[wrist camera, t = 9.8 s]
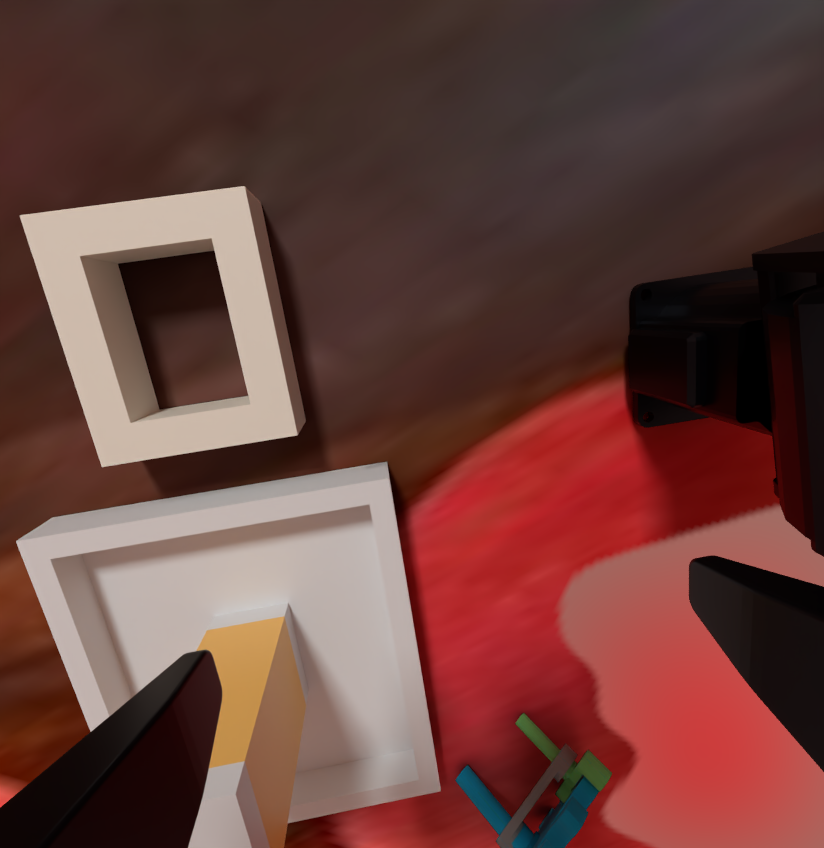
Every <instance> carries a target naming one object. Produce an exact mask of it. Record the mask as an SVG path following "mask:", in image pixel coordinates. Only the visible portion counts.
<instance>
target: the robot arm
mask: <svg viewBox="0 0 824 848" xmlns="http://www.w3.org/2000/svg"><path fill="white" fill-rule="evenodd" d="M752 262H753V267H748V268H741V269H735V270H728V271H721V272H715V273H708V274H701V275H695V276H688V277H681V278H675V279H668V280H661V281H655V282H648V283H641V284H638V285H636V286H635V287H634V288H633V289H632V291H631V295H630V310H631V332H630V334H629V336H628V341H629V377H630V388H631V389H632V390H633V418H634V421H635V422H636V424H638V425H640V426H643V427H654V426H660V425H666V424H672V423H678V422H684V421H690V420H696V419H702V418H708V417H711V418H715V419H718V420H721V421H725V422H728V423H731V424H735V425H738V426H741V427H744V428H748V429H751V430H754V431H758V432H761V433H764V434H768V435H771V436H772V437H773V447H774V458H775V469H776V478H775V479H774V480H773V484H774V493H775V495H776V496H777V497H778V498H779V500H780V506H781V508H782V511H783V513H784V516H785V519H786V520H787V521H788V522H789V523H790V524H791V525H792V526H794V527H795V528H796V529H797V530H798V531H799V532H801V533H802V534H803V535H804V536H805V537H807V538H809V539H810V540H811V547H812V550H814V551H815V552H816V553H818V554H820V555H822V556H823V557H824V232H821V233H818V234H814V235H811V236H808V237H805V238H801V239H798V240H795V241H792V242H788V243H785V244H782V245H778V246H775V247H772V248H769V249H765V250H762V251H759V252H756V253H753V254H752ZM643 290H645V291H646V294H647V295H646V298H645V299H644V300H642V299H641V292H642V291H643ZM646 412H648V414H649V415H648V418H647V419H646V420H644V419H643V416H644V414H645V413H646ZM689 600H690V603H691V606H692V608H693V610H694V611H695V613H696V614H697V616H698V617H699V618H700V619H701V621H702V622H703V624H704V625H705V626H706V628H707V629H708V630H709V632H710V633H711V635H712V636H713V637H714V639H715V640H716V642H717V643H718V644H719V646H720V647H721V648H722V650H723V651H724V653H725V654H726V655H727V656H728V658H729V659H730V661H731V662H732V664H733V665H734V666H735V668H736V669H737V670H738V672H739V673H740V674H741V676H742V677H743V678H744V679H745V681H746V682H747V683H748V685H749V686H750V687H751V688H752V689H753V691H754V692H755V693H756V694H757V696H758V697H759V698H760V699H761V700H762V701H763V703H764V704H765V705H766V706H767V707H768V708H769V709H770V711H771V712H772V713H773V714H774V715H775V716H776V718H777V719H778V720H779V721H780V722H781V723H782V724H783V725H784V727H785V728H786V729H787V730H788V731H789V732H790V733H791V735H792V736H793V737H794V738H795V739H796V741H797V742H798V743H799V744H800V745H801V746H802V747H803V749H804V750H805V751H806V752H807V753H808V754H809V755H810V757H811V758H812V759H813V760H814V761H815V762H816V763H817V764H818V766H819V767H820V768H821V769H822V770H823V772H824V587H822V586H819V585H815V584H812V583H808V582H805V581H802V580H798V579H795V578H791V577H788V576H784V575H780V574H777V573H774V572H770V571H767V570H763V569H760V568H756V567H753V566H749V565H746V564H742V563H739V562H735V561H732V560H729V559H725V558H722V557H718V556H706V557H700V558H695V559H693V560H692V561H691V562H690V565H689ZM221 704H222V686H221V682H220V679H219V675H218V672H217V668H216V665H215V662H214V658H213V655H212V653H211V652H210V651H209V650H206V649H205V650H199V651H194V652H189V653H185V654H183V655H182V656H181V657H180V658H179V659H177V660H176V661H175V662H174V663H173V664H171V665H170V666H169V667H168V668H167V669H165V670H164V671H163V672H162V673H161V674H159V675H158V676H157V677H156V678H155V679H153V680H152V681H151V682H150V683H149V684H147V685H146V686H145V687H144V688H143V689H142V690H140V691H139V692H138V693H137V694H136V695H134V696H133V697H132V698H131V699H130V700H128V701H127V702H126V703H125V704H124V705H122V706H121V707H120V708H119V709H118V710H116V711H115V712H114V713H113V714H112V715H110V716H109V717H108V718H107V719H106V720H104V721H103V722H102V723H101V724H100V725H99V726H97V727H96V728H95V729H94V730H93V731H91V732H90V733H89V734H88V735H87V736H85V737H84V738H83V739H82V740H81V741H79V742H78V743H77V744H76V745H75V746H73V747H72V748H71V749H70V750H69V751H67V752H66V753H65V754H64V755H63V756H61V757H60V758H59V759H58V760H57V761H56V762H54V763H53V764H52V765H51V766H50V767H48V768H47V769H46V770H45V771H44V772H42V773H41V774H40V775H39V776H38V777H36V778H35V779H34V780H33V781H32V782H30V783H29V784H28V785H27V786H26V787H24V788H23V789H22V790H21V791H20V792H19V793H17V794H16V795H15V796H14V797H13V798H11V799H10V800H9V801H8V802H7V803H5V804H4V805H3V806H2V807H1V808H0V848H188V846H189V843H190V839H191V836H192V833H193V829H194V826H195V823H196V819H197V816H198V812H199V809H200V805H201V801H202V798H203V794H204V789H205V785H206V780H207V775H208V770H209V765H210V760H211V755H212V750H213V745H214V740H215V734H216V729H217V724H218V719H219V714H220V709H221Z"/></svg>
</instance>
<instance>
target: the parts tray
mask: <svg viewBox="0 0 824 848" xmlns="http://www.w3.org/2000/svg"><path fill="white" fill-rule="evenodd" d="M16 543H17V545H18V548H19V550H20V553H21V556H22V558H23V561H24V563H25V566H26V568H27V571H28V573H29V576H30V578H31V581H32V584H33V586H34V589H35V591H36V594H37V596H38V599H39V601H40V604H41V606H42V609H43V612H44V614H45V617H46V619H47V622H48V624H49V627H50V629H51V632H52V635H53V637H54V640H55V642H56V645H57V647H58V650H59V652H60V655H61V657H62V660H63V663H64V665H65V668H66V670H67V673H68V675H69V678H70V680H71V683H72V685H73V688H74V691H75V693H76V696H77V698H78V701H79V703H80V706H81V708H82V711H83V714H84V716H85V719H86V721H87V724H88V726H89V729H90V731H93V730H94V729H95V728H96V727H97V726H99V725H100V724H101V723H102V722H103V721H104V720H106V719H107V718H108V717H109V716H110V715H112V714H113V713H114V712H115V711H116V710H118V709H119V708H120V707H121V706H122V705H124V704H125V703H126V702H127V701H128V700H130V699H131V698H132V697H133V696H134V695H136V694H137V693H138V692H139V691H140V690H142V689H143V688H144V687H145V686H146V685H147V684H149V683H150V682H151V681H152V680H153V679H155V678H156V677H157V676H158V675H159V674H161V673H162V672H163V671H164V670H165V669H167V668H168V667H169V666H170V665H171V664H173V663H174V662H175V661H176V660H177V659H179V658H180V657H181V656H182V655H183V654H185V653H189V652H194V651H197V649H198V647H199V645H200V643H201V641H202V639H203V637H204V635H205V633H206V631H207V629H208V627H209V625H210V623H211V621H212V619H213V617H214V616H218V615H223V614H229V613H235V612H240V611H246V610H251V609H257V608H262V607H268V606H273V605H279V604H284V603H288V604H289V608H290V612H291V617H292V621H293V625H294V629H295V633H296V637H297V642H298V646H299V650H300V654H301V658H302V663H303V667H304V671H305V675H306V679H307V684H308V688H309V691H308V697H307V703H306V710H305V716H304V722H303V729H302V735H301V741H300V748H299V754H298V760H297V767H296V773H295V779H294V786H293V792H292V798H291V805H290V811H289V817H288V823H291V822H296V821H301V820H305V819H310V818H315V817H320V816H325V815H329V814H334V813H339V812H344V811H349V810H353V809H358V808H363V807H368V806H373V805H377V804H382V803H387V802H392V801H396V800H401V799H406V798H411V797H416V796H420V795H425V794H430V793H435V792H440V791H441V788H440V781H439V775H438V768H437V761H436V755H435V749H434V743H433V737H432V730H431V724H430V718H429V712H428V706H427V700H426V694H425V688H424V682H423V676H422V670H421V664H420V658H419V652H418V646H417V640H416V634H415V628H414V622H413V616H412V610H411V604H410V597H409V591H408V585H407V579H406V573H405V567H404V561H403V555H402V549H401V543H400V537H399V531H398V525H397V519H396V513H395V507H394V501H393V495H392V489H391V483H390V477H389V470H388V464H387V462H383V463H377V464H371V465H365V466H359V467H353V468H347V469H341V470H335V471H329V472H323V473H317V474H311V475H305V476H299V477H293V478H287V479H281V480H275V481H269V482H263V483H257V484H251V485H245V486H239V487H233V488H227V489H221V490H215V491H209V492H203V493H197V494H191V495H185V496H179V497H173V498H167V499H161V500H155V501H149V502H143V503H137V504H131V505H125V506H119V507H113V508H107V509H101V510H95V511H89V512H83V513H77V514H71V515H65V516H59V517H53V518H51V519H50V520H48V521H46V522H45V523H43V524H42V525H40V526H39V527H37V528H36V529H34V530H33V531H31V532H29V533H28V534H26V535H25V536H23V537H22V538H20V539H19V540H17V541H16Z"/></svg>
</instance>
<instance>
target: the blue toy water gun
mask: <svg viewBox="0 0 824 848" xmlns="http://www.w3.org/2000/svg"><path fill="white" fill-rule="evenodd" d="M515 724H516V725H517V726H518V727H519V728H520V729H521V730H522V732H523V733H524V734H525V735H526V736H527V737H528V738H529V739H530V740H531V741H532V742H533V743H534V744H535V745H536V746H537V747H538V748H539V749H540V751H541V752H542V753H543V754H544V755H545V756H546V757H547V758H548V759H549V760H550V761H551V762H552V763H551V764H550V765H549V767H548V768H547V770H546V771H545V772H544V774H543V775H542V776H541V778H540V779H539V781H538V782H537V783H536V785H535V786H534V788H533V789H532V790H531V792H530V793H529V795H528V796H527V797H526V799H525V800H524V801H523V803H522V804H521V806H520V807H519V808H518V810H517V811H516V813H515V814H514V815H513V817H511V816H510V815H509V814H508V812H507V811H506V810H505V809H504V808H503V806H502V805H501V804H500V803H499V802H498V800H497V799H496V798H495V797H494V796H493V794H492V793H491V792H490V791H489V790H488V788H487V787H486V786H485V785H484V784H483V782H482V781H481V780H480V779H479V778H478V776H477V775H476V774H475V773H474V772H473V770H472V769H471V768H470V767H469V766H468V765H467V766H466V767H465V768H464V769H463V770H462V772H461V773H460V774H459V775H458V777H457V778H456V780H455V781H456V782H457V783H458V785H459V786H460V787H461V788H462V790H463V791H464V792H465V793H466V795H467V796H468V797H469V798H470V800H471V801H472V802H473V803H474V805H475V806H476V807H477V808H478V810H479V811H480V812H481V813H482V815H483V816H484V817H485V818H486V820H487V821H488V822H489V823H490V825H491V826H492V827H493V828H494V830H495V831H496V832H497V833H498V835H499V837H498V838H497V840H496V842H497V844H498V845H499V846H500V847H501V848H565V846H566V845H567V844H568V843H569V842H570V840H571V839H572V838H573V837H574V836H575V835H576V834H577V833H578V831H579V830H580V829H581V827H582V826H583V824H584V822H585V819H586V817H587V815H588V812H587V811H586V809H587V808H588V807H589V805H590V804H591V803H592V801H593V800H594V799H595V797H596V795H597V794H598V792H600V791H601V790H602V789H603V788H604V786H605V785H606V783H607V782H608V780H609V779H610V777H611V775H612V772H611V771H610V770H609V769H608V768H606V767H605V766H604V765H603V764H602V763H601V762H600V761H599V760H598V759H597V758H596V757H595V756H594V755H593V754H592V753H591V752H590V751H589V750H587V751H586V753H585V754H584V755H583V757H582V758H581V759H580V761H579V762H578V764H577V763H576V762H575V761H574V760H575V758H576V757H577V754H576V753H575V752H574V751H573V750H572V749H571V748H570V747H569V746H568V745H567V744H566V743H565V745H564V746H563V747H562V749H561V750H560V749H559V748H558V747H557V746H556V745H555V744H554V743H553V742H552V741H551V740H550V739H549V738H548V737H547V736H546V735H545V734H544V733H543V732H542V731H541V730H540V729H539V728H538V727H537V726H536V725H535V724H534V723H533V722H532V721H531V720H530V719H529V718H528V717H527V715H526V714H525V713H523V714H522V715H521V716H520V718H519V719H518V720H517V722H516V723H515ZM553 778H554V779H555V780H556V781H557V782H559V781H560V780H561V779H562V778H563V779H564V781H563V782H562V784H561V785H560V787H559V788H558V790H557V791H556V793H555V795H556V796H557V797H558V798H559V799H560V802H559V804H558V805H557V807H556V808H555V810H554V809H553V808H552V809H551V810H550V811H549V813H548V814H547V815H546V817H545V818H544V820H543V821H542V823H541V824H540V826H539V829H540V830H539V831H538V832H537V831H536V832H535V833H534V834H533V832H532V831H531V830H530V829H529V828H528V826H527V825H526V824H525V823H524V822H523V820H524V818H525V817H526V815H527V814H528V813H529V811H530V810H531V808H532V807H533V806H534V804H535V803H536V801H537V800H538V799H539V797H540V796H541V795H542V793H543V792H544V790H545V789H546V788H547V786H548V785H549V783H550V782H551V781H552V779H553Z"/></svg>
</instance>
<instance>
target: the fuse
mask: <svg viewBox="0 0 824 848" xmlns="http://www.w3.org/2000/svg"><path fill="white" fill-rule="evenodd" d="M205 649H206V650H209V651H210V652H211V653H212V655H213V658H214V662H215V665H216V668H217V672H218V675H219V679H220V682H221V686H222V704H221V709H220V714H219V719H218V724H217V729H216V734H215V740H214V745H213V750H212V755H211V760H210V765H209V770H208V775H207V780H206V785H205V789H204V794H203V798H202V801H201V805H200V809H199V812H198V816H197V819H196V823H195V826H194V829H193V833H192V836H191V839H190V843H189V846H188V848H284V843H285V836H286V830H287V824H288V817H289V811H290V805H291V798H292V792H293V786H294V779H295V773H296V767H297V760H298V754H299V748H300V741H301V735H302V729H303V722H304V716H305V710H306V703H307V697H308V691H309V688H308V684H307V679H306V675H305V671H304V667H303V663H302V658H301V654H300V650H299V646H298V642H297V637H296V633H295V629H294V625H293V621H292V617H291V612H290V608H289V604H288V603H284V604H279V605H273V606H268V607H262V608H257V609H251V610H246V611H240V612H235V613H229V614H223V615H218V616H214V617H213V619H212V621H211V623H210V625H209V627H208V629H207V631H206V633H205V635H204V637H203V639H202V641H201V643H200V645H199V647H198V649H197V651H199V650H205Z"/></svg>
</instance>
